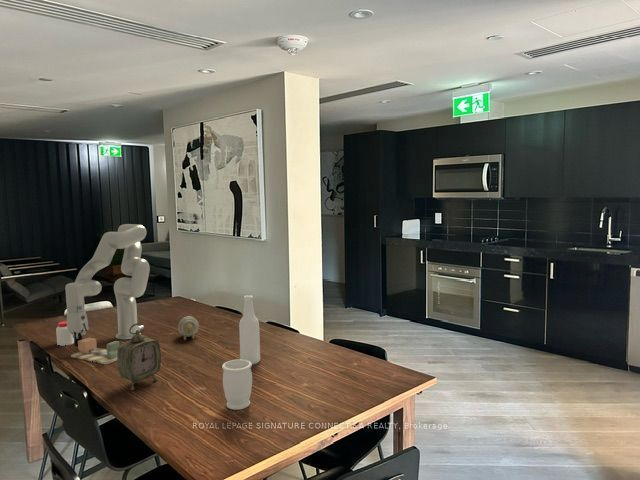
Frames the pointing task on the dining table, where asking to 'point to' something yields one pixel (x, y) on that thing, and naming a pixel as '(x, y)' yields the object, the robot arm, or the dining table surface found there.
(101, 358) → the rail board
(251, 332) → the alcohol
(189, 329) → the toy sheep
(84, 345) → the block
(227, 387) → the jar
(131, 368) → the tabletop clock
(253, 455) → the dining table surface
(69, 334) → the pill bottle
